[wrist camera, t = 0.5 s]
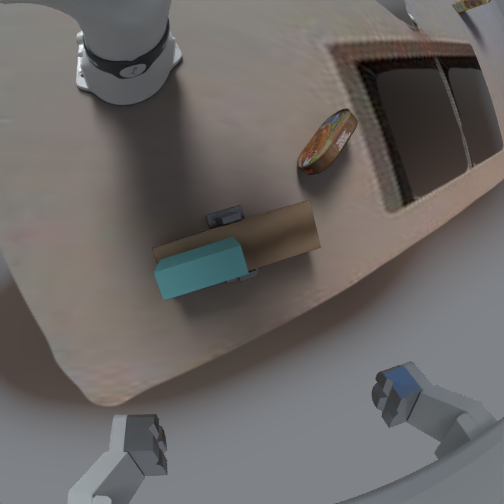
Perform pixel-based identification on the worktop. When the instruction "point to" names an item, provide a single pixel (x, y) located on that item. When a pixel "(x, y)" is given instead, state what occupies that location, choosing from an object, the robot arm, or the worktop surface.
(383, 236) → the worktop surface
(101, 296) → the worktop surface
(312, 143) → the tin
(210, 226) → the beam stand
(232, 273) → the block
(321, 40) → the worktop surface
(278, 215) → the beam
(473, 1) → the candy box
